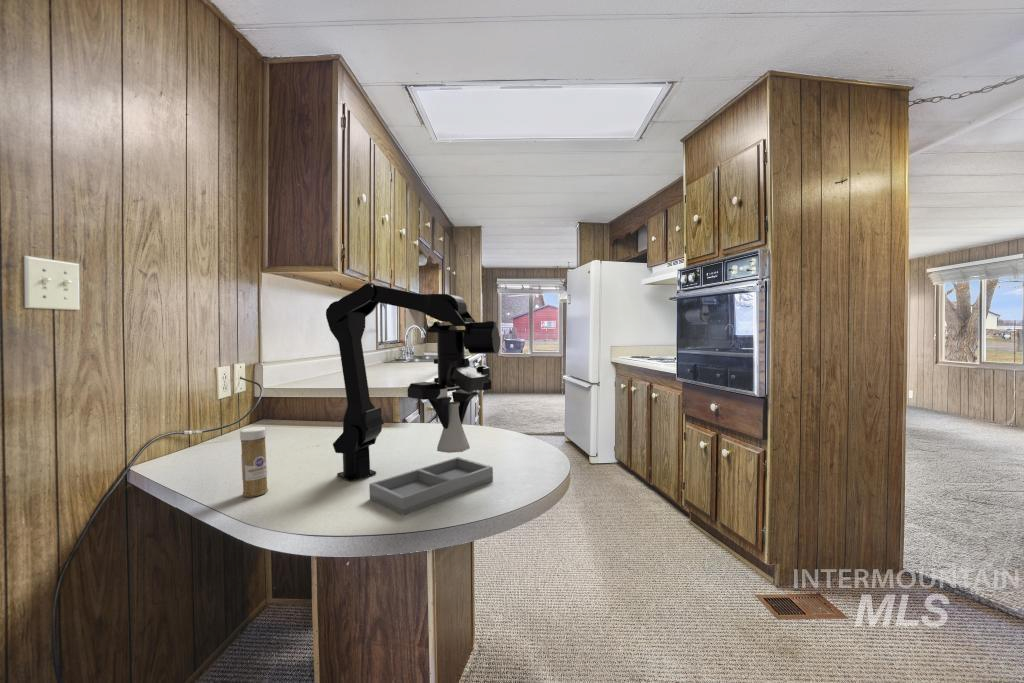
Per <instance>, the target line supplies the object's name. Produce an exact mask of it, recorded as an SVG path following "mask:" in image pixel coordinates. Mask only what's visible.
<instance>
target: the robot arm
mask: <svg viewBox="0 0 1024 683" xmlns="http://www.w3.org/2000/svg"><path fill="white" fill-rule="evenodd" d="M465 301H466V300H465V299H464V298H463V297H461V296H459V295H454V294H448V293H423V294H422V293H418V292H417V293H416V292H413V291H409V290H408V291H407V290H402V289H397V288H393V287H388V286H384V285H382V284H378V283H377V284H376V283H371V282H367V283H365V284H363V285H362V286H361V287H360V288H358V289H357V290H355V291H353V292H351V293H348V294H346V295H345V296H343V297H341V298H340V299H339V300H336V301H333V302H331V303H330V304H329V306H328V307H327V308H326V310H325V316H326V318H325V319H326V321H327V325H328V327H329V331H330V332H331V334H332V335H333V336H334V338H335V340H336V341H337V343H338V347H339V348H338V349H339V354H340V355H339V356H340V361H341V369H342V375H343V383H344V389H345V395H346V404H347V406H346V410H345V413H344V416H343V419H342V432H341V434H340V435H339V436H338V437H337V439H335V441H333V443H332V446H333V449H334V452H335V454H342V471H340V472H337V473H336V476H337V477H340V478H342V479H344V480H346V481H348V482H353V481H356V480H361V479H363V478H364V479H365V478H367V477H371V476H373V475H377V471H376V470H374V469H371V461H370V460H371V458H370V446H372V445H375V444H376V441H377V438H378V437H379V435H380V434H381V433H382V430H383V425H385V422H384V420H383V418H382V407H380V406H379V407H375V406H374V405H373V403H372V402H371V398H370V397H371V396H370V391H369V384H368V376H367V371H366V364H365V357H364V349H363V343H362V338H363V335H364V332H365V329H366V317H368V316H369V315H371V314H372V313H373V312H374V310H375V309H376V308H377V306H378V305H379V304H384V305H390V306H394V307H398V308H404V309H409V310H412V311H417V312H420V313H421V314H424V315H426V316H428V317H430V318H433V319H435V320H437V321H434V322H433V323H432V325H430V327H429V328H427V330H426V332H427V333H431V334H433V333H436V344H437V345H436V346H437V347H436V348H437V349H436V350H437V351H436V352H437V353H436V354H437V358H434V359H433V364H434V365H437V377H434V380H433V382H430V381H429V382H428V381H422V382H421V381H420V382H412V383H410V384H409V385H408V388H407V398H411V399H416V400H427V401H428V402H429V404H430V405H431V406H432V408H433V410H434V412H435V413H436V415H437V419H438V420H439V422H440V424H441V426H442V428H445V429H447V428H448V422H449V417H448V404H449V402H451V400H452V402H460V405H459V407H458V408H459V417H460V421H461V424H462V425H463V422H464V420H465V415H466V414H467V410H468V408H469V404H470V402H471V400H472V399H474V397H475V396H478V395H479V392H477V391H488V390H492V380H491V373H490V372H491V371H490V366H489V367H488V366H487V365H479V366H477V367H471V365H470V364H471V363H470V360H469V358H467V357H466V358H465V350H467V351H468V352H469V354H471V355H478V354H479V355H480V354H482V355H483V354H487V355H489V354H492V355H493V354H496V355H497V354H498V353H499V352H500V349H501V336H500V332H499V328H498V327H497V325H498V324H497V322H498V321H496V320H488V321H484V322H483V321H479V322H476V320H475V319H474V317H473V316H472V314H471V313H470V312H469V311H468V309H467V308H468V306H467V303H466V302H465ZM441 322H443V323H445V322H446V323H447V322H448V323H449V324H442V323H441ZM457 327H464V329H457ZM448 392H451V394H452V396H448Z"/></svg>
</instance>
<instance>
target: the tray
mask: <svg viewBox="0 0 1024 683" xmlns="http://www.w3.org/2000/svg"><path fill="white" fill-rule="evenodd" d="M493 470H494V469H493V466H491V465H487V464H484V463H480V462H478V461H477V462H476V461H473V460H469V459H466V458H463V457H460V456H457V457H456V456H455V457H453V458H450V459H446V460H443V461H439V462H437V463H433V464H430V465H427V466H424V467H420V468H416V469H413V470H410V471H406V472H403V473H400V474H396V475H394V476H390V477H387V478H384V479H381V480H377V481H374V482H370V483H368V484H369V487H368V488H369V499H370V500H371V501H373V502H375V503H377V504H379V505H382V506H383V507H386V508H387V509H390V510H392V511H394V512H396V513H397V514H400V515H402V516H405V515H407V514H411V513H412V512H415V511H417V510H420V509H423V508H425V507H428V506H430V505H433V504H436V503H438V502H441V501H443V500H447V499H449V498H452V497H453V496H457V495H459V494H462V493H464V492H468V491H471V490H473V489H475V488H478V487H480V486H483V485H485V484H488V483H490V482H494V472H493Z"/></svg>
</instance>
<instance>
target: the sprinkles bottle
mask: <svg viewBox="0 0 1024 683" xmlns="http://www.w3.org/2000/svg"><path fill="white" fill-rule="evenodd" d="M266 436H267V431H266V427H264V426H253V427H247V428H243V429H241V430H240V431H239V440H240V442H241V444H240V445H241V454H240V457H241V460H240V461H241V480H242V491H243V492H242V496H243V497H247V498H251V497H252V498H253V497H259V496H262V495H264V494H266V493H267V492H268V490H269V488H268V480H267V479H268V470H267V469H268V468H267V467H268V465H267V463H268V462H267V451H266Z"/></svg>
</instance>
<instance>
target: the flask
mask: <svg viewBox="0 0 1024 683" xmlns="http://www.w3.org/2000/svg"><path fill="white" fill-rule="evenodd" d="M459 405H460V402H453V401H450V402H449V404H448V417H449V422H448V428H447V429H445V428H443V427H442V428H443V429H442V430H441V435H440V437H439V440H438V444H437V447H436V451H437V452H440V453H446V454H447V453H448V454H451V453H463V452H465V451H467V450H469V449H470V444H469V442H468V438H467V435H466V433H465V430H464V427H463V423H462V424H461V421H460V417H459V408H458V407H459Z"/></svg>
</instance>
